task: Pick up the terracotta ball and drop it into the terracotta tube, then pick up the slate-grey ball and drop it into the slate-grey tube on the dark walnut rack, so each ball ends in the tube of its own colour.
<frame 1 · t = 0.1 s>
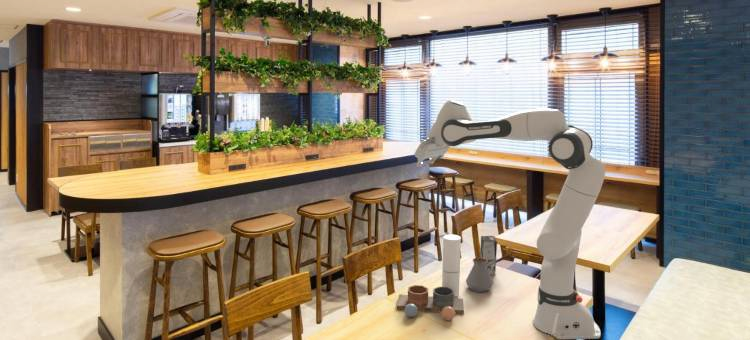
hand: (424, 164, 188), 54 cm above the table, tool tilted 30°, fingers open, 8 cm apart
cylindrical container: (450, 294, 190), on the table
slate ball: (411, 310, 170), point 2 cm above the table
terracotta ball: (448, 313, 168), point 2 cm above the table
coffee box: (487, 271, 214), on the table
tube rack: (430, 305, 180), on the table
coffee pot: (489, 287, 196), on the table
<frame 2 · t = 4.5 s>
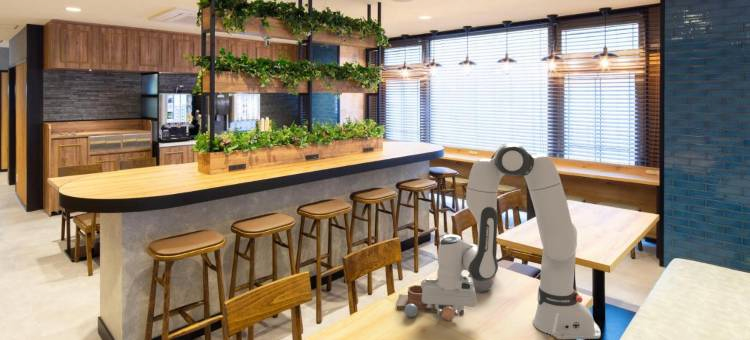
hand: (448, 315, 169), 2 cm above the table, tool pointing down, fingers closed on terracotta ball, 5 cm apart
terracotta ball: (448, 313, 168), point 2 cm above the table, touching gripper
everything else where it was.
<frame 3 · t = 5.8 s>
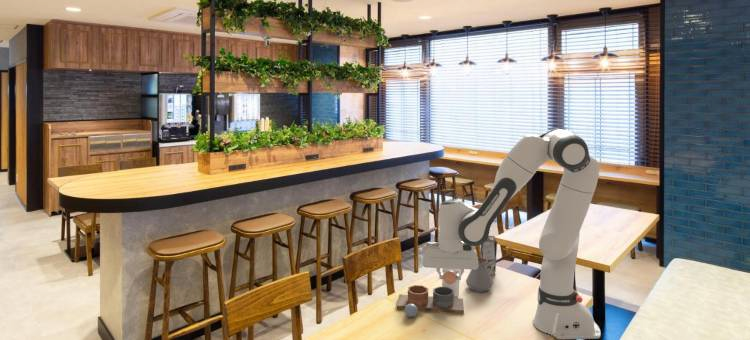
hand: (450, 279, 166), 16 cm above the table, tool pointing down, fingers closed on terracotta ball, 5 cm apart
terracotta ball: (450, 277, 166), point 17 cm above the table, touching gripper
everything else where it was.
when the fingers open (11 cm above the table, at t = 7.3 s): terracotta ball drops 8 cm, resting on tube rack.
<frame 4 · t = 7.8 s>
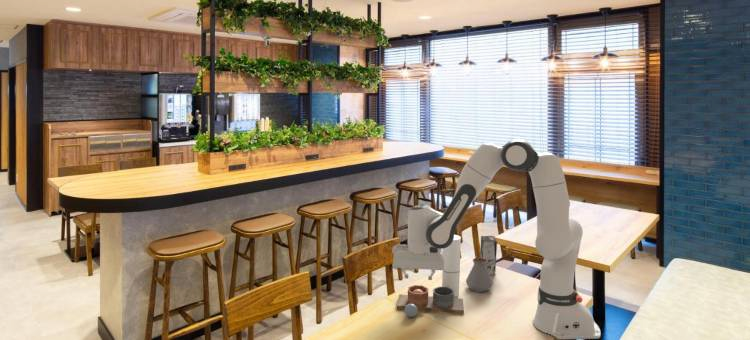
hand: (418, 278, 178), 11 cm above the table, tool pointing down, fingers open, 8 cm apart
terracotta ball: (418, 295, 180), point 4 cm above the table, touching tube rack
everything else where it was.
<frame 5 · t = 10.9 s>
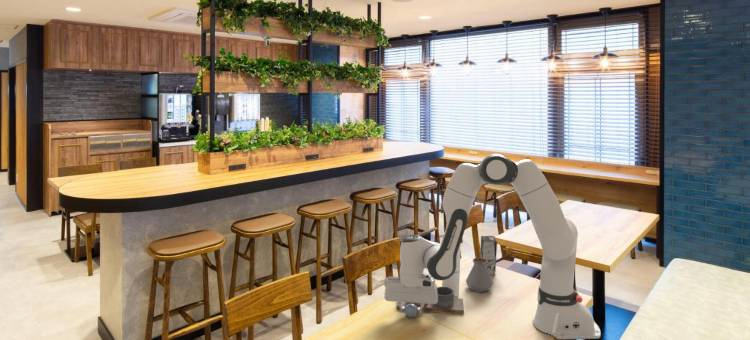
hand: (411, 312, 171), 2 cm above the table, tool pointing down, fingers closed on slate ball, 5 cm apart
slate ball: (411, 310, 170), point 2 cm above the table, touching gripper
everything else where it was.
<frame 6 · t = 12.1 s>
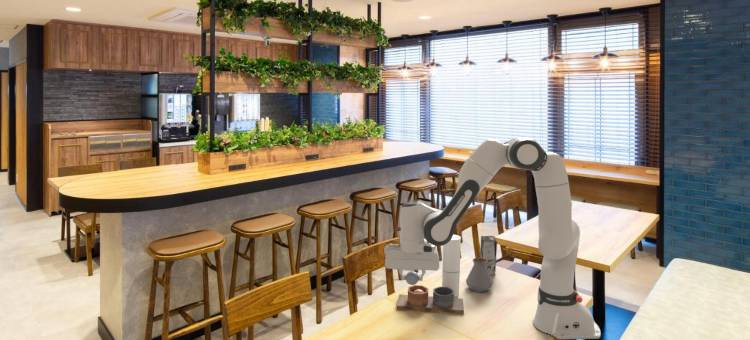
hand: (412, 279, 168), 15 cm above the table, tool pointing down, fingers closed on slate ball, 5 cm apart
slate ball: (412, 278, 168), point 16 cm above the table, touching gripper
everything else where it was.
when the fingers open (11 cm above the table, at t = 13.7 s): slate ball drops 8 cm, resting on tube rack.
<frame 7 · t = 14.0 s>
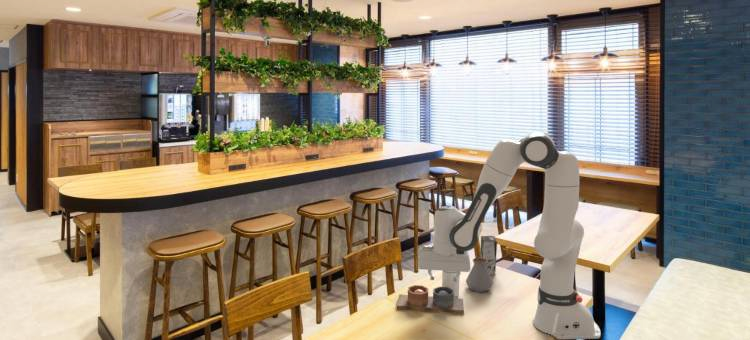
hand: (443, 280, 177), 11 cm above the table, tool pointing down, fingers open, 8 cm apart
slate ball: (443, 297, 178), point 4 cm above the table, touching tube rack
everything else where it was.
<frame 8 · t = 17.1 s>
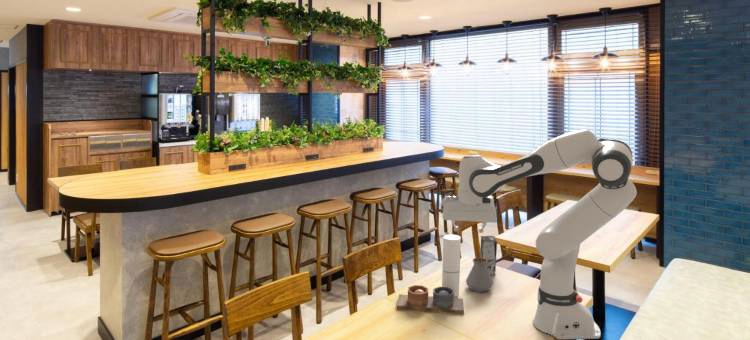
hand: (468, 231, 173), 31 cm above the table, tool pointing down, fingers open, 8 cm apart
nothing on the table moved.
at the end: terracotta ball 0.7 cm from the target spot on the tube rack, point 4.0 cm above the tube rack's base; slate ball 0.2 cm from the target spot on the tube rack, point 4.0 cm above the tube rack's base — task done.
